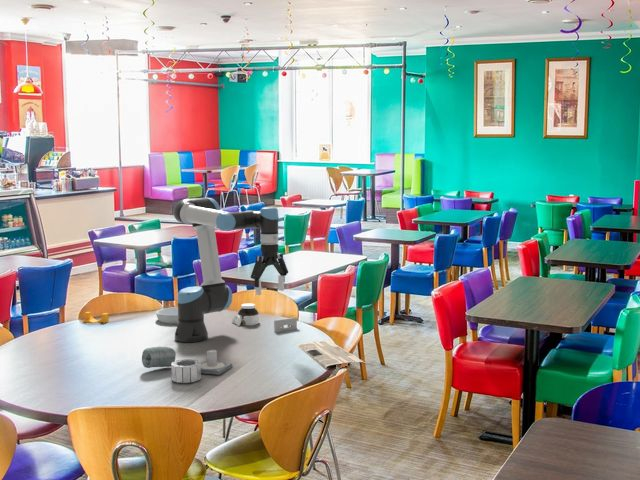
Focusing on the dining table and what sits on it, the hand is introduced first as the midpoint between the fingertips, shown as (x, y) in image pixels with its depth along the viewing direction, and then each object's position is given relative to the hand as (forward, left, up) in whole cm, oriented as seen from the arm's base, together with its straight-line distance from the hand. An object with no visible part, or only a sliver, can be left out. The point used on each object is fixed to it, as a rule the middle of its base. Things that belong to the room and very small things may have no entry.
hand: (269, 292), depth 329 cm
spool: (-34, -39, -27) cm, 58 cm away
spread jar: (-29, +38, -27) cm, 55 cm away
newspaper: (+27, +1, -27) cm, 39 cm away
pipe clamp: (-103, +20, -27) cm, 108 cm away
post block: (-12, -32, -26) cm, 43 cm away
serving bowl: (-66, +37, -27) cm, 80 cm away
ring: (-16, -46, -26) cm, 55 cm away
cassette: (-5, +32, -27) cm, 42 cm away
